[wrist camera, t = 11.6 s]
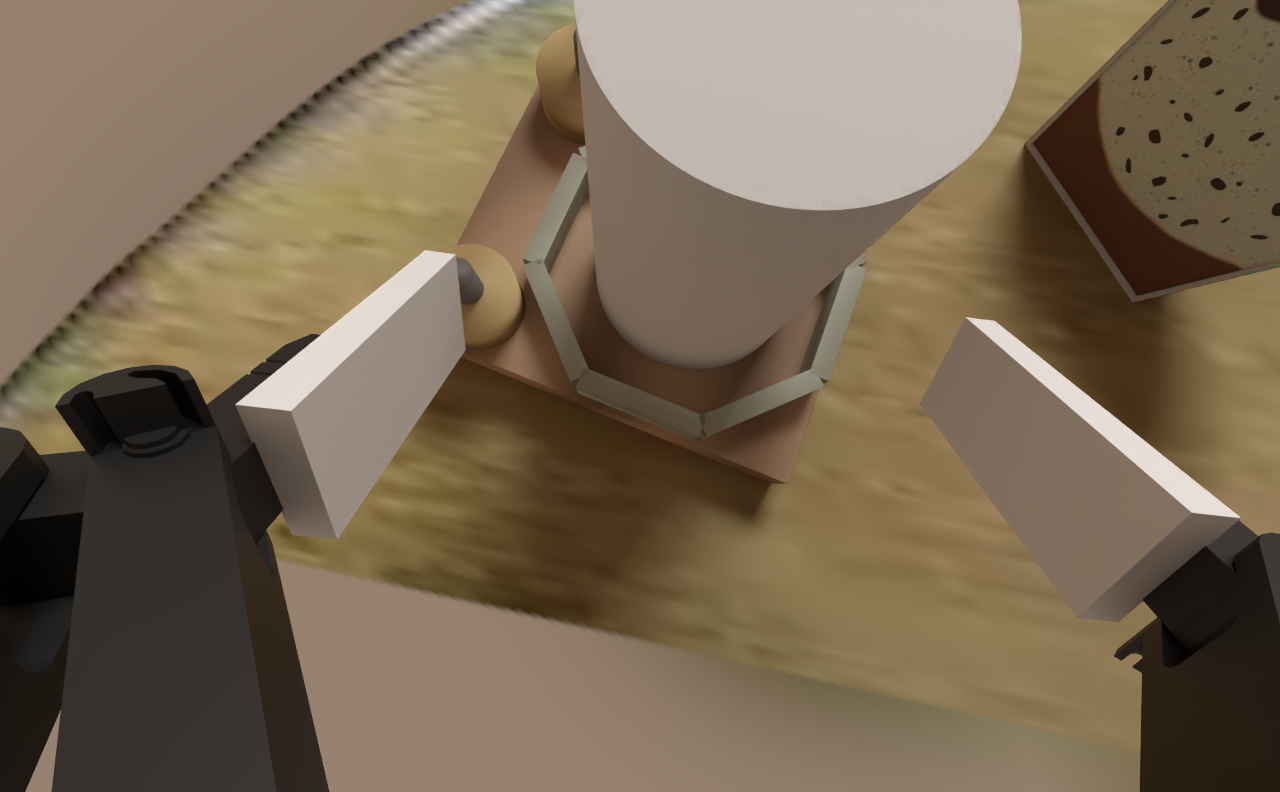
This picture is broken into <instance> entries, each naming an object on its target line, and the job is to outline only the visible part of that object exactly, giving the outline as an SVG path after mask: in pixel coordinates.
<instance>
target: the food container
mask: <svg viewBox="0 0 1280 792" xmlns="http://www.w3.org/2000/svg"><path fill="white" fill-rule="evenodd" d="M1025 146H1026V147H1027V148H1028V150H1029V151H1030V153H1031V154H1032V156H1033V157H1034V159H1035V160H1036V162H1037V163H1038V165H1039V166H1040V168H1041V169H1042V171H1043V172H1044V174H1045V175H1046V176H1047V178H1048V179H1049V181H1050V182H1051V184H1052V185H1053V187H1054V188H1055V190H1056V191H1057V193H1058V194H1059V196H1060V197H1061V199H1062V200H1063V201H1064V203H1065V204H1066V206H1067V207H1068V209H1069V210H1070V212H1071V213H1072V215H1073V216H1074V218H1075V219H1076V221H1077V222H1078V224H1079V225H1080V227H1081V228H1082V229H1083V231H1084V232H1085V234H1086V235H1087V237H1088V238H1089V240H1090V241H1091V243H1092V244H1093V246H1094V247H1095V249H1096V250H1097V252H1098V253H1099V254H1100V256H1101V257H1102V259H1103V260H1104V262H1105V263H1106V265H1107V266H1108V268H1109V269H1110V271H1111V272H1112V274H1113V275H1114V277H1115V278H1116V280H1117V281H1118V282H1119V284H1120V285H1121V287H1122V288H1123V290H1124V291H1125V293H1126V294H1127V296H1128V297H1129V299H1130V300H1131V302H1132V303H1133V302H1137V301H1141V300H1145V299H1149V298H1154V297H1158V296H1162V295H1166V294H1170V293H1174V292H1178V291H1182V290H1187V289H1191V288H1195V287H1199V286H1203V285H1207V284H1211V283H1215V282H1220V281H1224V280H1228V279H1232V278H1236V277H1240V276H1244V275H1248V274H1252V273H1257V272H1261V271H1265V270H1269V269H1273V268H1277V267H1280V0H1168V1H1167V2H1166V3H1165V4H1164V5H1163V6H1162V7H1161V8H1160V9H1159V10H1158V11H1157V12H1156V13H1155V14H1154V15H1153V16H1152V17H1151V18H1150V19H1149V20H1148V21H1147V22H1146V23H1145V24H1144V25H1143V26H1142V27H1141V28H1140V29H1139V30H1138V31H1137V32H1136V33H1135V34H1134V35H1133V36H1132V37H1131V38H1130V39H1129V40H1128V41H1127V42H1126V43H1125V44H1124V45H1123V46H1122V47H1121V48H1120V49H1119V50H1118V51H1117V52H1116V53H1115V54H1114V55H1113V56H1112V57H1111V58H1110V59H1109V60H1108V61H1107V62H1106V63H1105V64H1104V65H1103V66H1102V67H1101V68H1100V69H1099V70H1098V71H1097V72H1096V73H1095V74H1094V75H1093V76H1092V77H1091V78H1090V79H1089V80H1088V81H1087V82H1086V83H1085V84H1084V85H1083V86H1082V87H1081V88H1080V89H1079V90H1078V91H1077V92H1076V93H1075V94H1074V95H1073V96H1072V97H1071V98H1070V99H1069V100H1068V101H1067V102H1066V103H1065V104H1064V105H1063V106H1062V107H1061V108H1060V109H1059V110H1058V111H1057V112H1056V113H1055V114H1054V115H1053V116H1052V117H1051V118H1050V119H1049V120H1048V121H1047V122H1046V123H1045V124H1044V125H1043V126H1042V127H1041V128H1040V129H1039V130H1038V131H1037V132H1036V133H1035V134H1034V135H1033V136H1032V137H1031V138H1030V139H1029V140H1028V141H1027V142H1026V143H1025Z"/></svg>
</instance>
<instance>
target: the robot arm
mask: <svg viewBox="0 0 1280 792" xmlns="http://www.w3.org/2000/svg"><path fill="white" fill-rule="evenodd" d="M465 350H466V349H465V339H464V329H463V319H462V309H461V299H460V290H459V280H458V270H457V260H456V254H450V253H442V252H434V251H424V252H423V253H421V254H420V255H419V256H418V257H416V258H415V259H414V260H413V261H412V262H410V263H409V264H408V265H407V266H405V267H404V268H403V269H402V270H400V271H399V272H398V273H397V274H396V275H394V276H393V277H392V278H391V279H389V280H388V281H387V282H386V283H384V284H383V285H382V286H381V287H380V288H378V289H377V290H376V291H375V292H373V293H372V294H371V295H370V296H368V297H367V298H366V299H365V300H363V301H362V302H361V303H360V304H359V305H357V306H356V307H355V308H354V309H352V310H351V311H350V312H349V313H347V314H346V315H345V316H344V317H343V318H341V319H340V320H339V321H338V322H336V323H335V324H334V325H333V326H331V327H330V328H329V329H328V330H327V331H325V332H324V333H323V334H322V335H317V334H310V335H308V336H305V337H303V338H301V339H298V340H296V341H293V342H291V343H289V344H286V345H284V346H283V347H282V348H280V349H279V350H278V351H277V352H275V353H274V354H273V355H271V356H270V357H269V358H267V359H266V362H262V363H261V364H259V365H258V366H257V367H256V368H254V369H253V370H252V371H251V374H250V375H248V374H246V375H245V376H244V377H242V378H241V379H240V380H238V381H237V382H236V383H234V384H233V385H232V386H231V387H229V388H228V389H227V390H225V391H224V392H223V393H221V394H220V395H219V396H217V397H216V398H215V399H213V400H212V401H211V402H210V403H208V404H207V405H206V403H205V401H204V399H203V397H202V395H201V392H200V390H199V388H198V386H197V384H196V382H195V380H194V378H193V377H192V375H191V374H190V373H189V371H188V370H185V369H182V368H179V367H176V366H165V365H148V366H139V367H131V368H126V369H122V370H118V371H114V372H110V373H106V374H103V375H100V376H98V377H95V378H93V379H90V380H88V381H85V382H83V383H80V384H79V385H77V386H76V387H74V388H73V389H71V390H70V391H68V392H66V393H65V394H63V395H62V397H61V398H60V400H59V401H58V403H57V404H56V406H55V407H56V408H57V410H58V411H59V413H60V414H61V416H62V417H63V419H64V420H65V421H66V423H67V424H68V426H69V427H70V429H71V430H72V432H73V433H74V434H75V436H76V437H77V439H78V440H79V442H80V443H81V445H82V446H83V447H84V449H85V450H86V451H78V452H68V453H57V454H46V455H39V454H38V453H37V452H36V450H35V449H34V448H33V446H32V445H31V444H30V442H29V441H28V440H27V439H26V437H25V436H24V435H23V434H22V433H21V432H20V431H17V430H13V429H8V428H3V427H1V428H0V792H25V791H26V788H27V786H28V784H29V782H30V779H31V777H32V774H33V772H34V770H35V768H36V765H37V763H38V761H39V758H40V756H41V754H42V751H43V749H44V747H45V745H46V742H47V740H48V738H49V735H50V733H51V731H52V728H53V726H54V724H55V722H56V719H57V717H58V715H59V712H60V710H61V715H60V723H59V733H58V742H57V750H56V758H55V767H54V776H53V786H52V792H329V789H328V784H327V780H326V775H325V771H324V767H323V762H322V758H321V754H320V749H319V745H318V740H317V736H316V732H315V727H314V723H313V719H312V714H311V710H310V706H309V702H308V697H307V693H306V688H305V684H304V679H303V675H302V671H301V666H300V662H299V658H298V654H297V649H296V645H295V640H294V637H293V632H292V627H291V623H290V619H289V614H288V610H287V606H286V601H285V597H284V592H283V588H282V584H281V579H280V575H279V571H278V566H277V562H276V558H275V553H274V549H273V544H272V541H271V539H270V537H269V535H268V533H267V531H266V529H267V528H268V527H269V526H270V525H271V523H272V522H273V521H274V520H275V519H276V517H277V516H278V515H279V514H280V513H281V511H282V513H283V516H284V518H285V520H286V522H287V525H288V527H289V529H290V532H291V534H292V535H298V536H308V537H317V538H327V539H336V540H337V539H338V538H339V536H340V535H341V533H342V532H343V530H344V529H345V527H346V526H347V525H348V523H349V522H350V520H351V519H352V517H353V516H354V514H355V513H356V511H357V510H358V508H359V507H360V505H361V504H362V502H363V501H364V499H365V498H366V496H367V495H368V493H369V492H370V491H371V489H372V488H373V486H374V485H375V483H376V482H377V480H378V479H379V477H380V476H381V474H382V473H383V471H384V470H385V468H386V467H387V465H388V464H389V462H390V461H391V459H392V458H393V457H394V455H395V454H396V452H397V451H398V449H399V448H400V446H401V445H402V443H403V442H404V440H405V439H406V437H407V436H408V434H409V433H410V431H411V430H412V428H413V427H414V426H415V424H416V423H417V421H418V420H419V418H420V417H421V415H422V414H423V412H424V411H425V409H426V408H427V406H428V405H429V403H430V402H431V400H432V399H433V397H434V396H435V394H436V393H437V392H438V390H439V389H440V387H441V386H442V384H443V383H444V381H445V380H446V378H447V377H448V375H449V374H450V372H451V371H452V369H453V368H454V366H455V365H456V363H457V362H458V360H459V359H460V358H461V356H462V355H463V353H464V352H465ZM920 405H921V406H922V407H923V409H924V410H925V411H926V413H927V414H928V416H929V417H930V418H931V420H932V421H933V422H934V424H935V425H936V426H937V428H938V429H939V430H940V432H941V433H942V435H943V436H944V437H945V439H946V440H947V441H948V443H949V444H950V445H951V447H952V448H953V449H954V451H955V452H956V454H957V455H958V456H959V458H960V459H961V460H962V462H963V463H964V464H965V466H966V467H967V468H968V470H969V471H970V473H971V474H972V475H973V477H974V478H975V479H976V481H977V482H978V483H979V485H980V486H981V487H982V489H983V490H984V492H985V493H986V494H987V496H988V497H989V498H990V500H991V501H992V502H993V504H994V505H995V506H996V508H997V509H998V511H999V512H1000V513H1001V515H1002V516H1003V517H1004V519H1005V520H1006V521H1007V523H1008V524H1009V525H1010V527H1011V528H1012V530H1013V531H1014V532H1015V534H1016V535H1017V536H1018V538H1019V539H1020V540H1021V542H1022V543H1023V544H1024V546H1025V547H1026V549H1027V550H1028V551H1029V553H1030V554H1031V555H1032V557H1033V558H1034V559H1035V561H1036V562H1037V563H1038V565H1039V566H1040V568H1041V569H1042V570H1043V572H1044V573H1045V574H1046V576H1047V577H1048V578H1049V580H1050V581H1051V582H1052V584H1053V585H1054V587H1055V588H1056V589H1057V591H1058V592H1059V593H1060V595H1061V596H1062V597H1063V599H1064V600H1065V601H1066V603H1067V604H1068V606H1069V607H1070V608H1071V610H1072V611H1073V612H1074V614H1075V615H1076V616H1077V618H1087V619H1096V620H1106V621H1115V622H1119V621H1120V620H1121V619H1122V618H1124V617H1125V616H1126V615H1127V614H1128V613H1130V612H1131V611H1132V610H1133V609H1134V608H1135V607H1137V606H1138V605H1139V604H1140V603H1141V602H1143V601H1144V602H1145V603H1146V604H1147V605H1148V607H1149V608H1150V609H1151V610H1152V611H1153V612H1154V613H1155V614H1156V616H1157V618H1156V619H1155V620H1153V621H1152V622H1151V623H1150V624H1148V625H1147V626H1146V627H1145V628H1143V629H1142V630H1141V631H1140V632H1138V633H1137V634H1136V635H1135V636H1133V637H1132V638H1131V639H1130V640H1128V641H1127V642H1126V643H1125V644H1123V645H1122V646H1121V647H1120V648H1118V649H1117V651H1116V653H1115V655H1114V657H1116V658H1118V659H1120V660H1121V661H1122V660H1123V659H1124V658H1125V657H1127V656H1128V655H1129V654H1133V653H1137V654H1140V655H1142V659H1141V660H1140V661H1139V662H1137V663H1136V664H1135V665H1133V668H1135V669H1136V670H1138V671H1140V672H1141V673H1142V705H1141V758H1140V759H1141V760H1140V761H1141V762H1140V792H1280V534H1276V533H1267V534H1262V535H1260V536H1257V535H1256V534H1255V533H1254V532H1252V531H1251V530H1250V529H1249V528H1247V527H1246V526H1245V525H1244V524H1242V523H1241V522H1240V521H1239V520H1240V519H1241V518H1240V517H1239V516H1238V515H1237V514H1235V513H1234V512H1233V511H1232V510H1230V509H1229V508H1228V507H1227V506H1225V505H1224V504H1223V503H1222V502H1220V501H1219V500H1218V499H1217V498H1215V497H1214V496H1213V495H1212V494H1210V493H1209V492H1208V491H1207V490H1205V489H1204V488H1203V487H1202V486H1200V485H1199V484H1198V483H1197V482H1195V481H1194V480H1193V479H1192V478H1190V477H1189V476H1188V475H1187V474H1185V473H1184V472H1183V471H1182V470H1180V469H1179V468H1178V467H1177V466H1175V465H1174V464H1173V463H1172V462H1170V461H1169V460H1168V459H1167V458H1165V457H1164V456H1163V455H1162V454H1160V453H1159V452H1158V451H1157V450H1155V449H1154V448H1153V447H1152V446H1150V445H1149V444H1148V443H1147V442H1145V441H1144V440H1143V439H1142V438H1140V437H1139V436H1138V435H1137V434H1135V433H1134V432H1133V431H1132V430H1130V429H1129V428H1128V427H1127V426H1125V425H1124V424H1123V423H1122V422H1120V421H1119V420H1118V419H1117V418H1115V417H1114V416H1113V415H1112V414H1110V413H1109V412H1108V411H1107V410H1105V409H1104V408H1103V407H1102V406H1100V405H1099V404H1098V403H1097V402H1095V401H1094V400H1093V399H1092V398H1090V397H1089V396H1088V395H1087V394H1085V393H1084V392H1083V391H1082V390H1080V389H1079V388H1078V387H1077V386H1075V385H1074V384H1073V383H1072V382H1070V381H1069V380H1068V379H1067V378H1065V377H1064V376H1063V375H1062V374H1060V373H1059V372H1058V371H1057V370H1055V369H1054V368H1053V367H1052V366H1050V365H1049V364H1048V363H1047V362H1045V361H1044V360H1043V359H1042V358H1040V357H1039V356H1038V355H1037V354H1035V353H1034V352H1033V351H1032V350H1030V349H1029V348H1028V347H1027V346H1025V345H1024V344H1023V343H1022V342H1020V341H1019V340H1018V339H1017V338H1015V337H1014V336H1013V335H1012V334H1010V333H1009V332H1008V331H1007V330H1005V329H1004V328H1003V327H1002V326H1000V325H999V324H998V323H997V322H995V321H991V320H983V319H975V318H967V317H966V318H965V320H964V322H963V324H962V326H961V328H960V329H959V331H958V333H957V335H956V337H955V339H954V341H953V342H952V344H951V346H950V348H949V350H948V352H947V354H946V355H945V357H944V359H943V361H942V363H941V365H940V367H939V369H938V370H937V372H936V374H935V376H934V378H933V380H932V382H931V383H930V385H929V387H928V389H927V391H926V393H925V395H924V397H923V398H922V400H921V402H920Z"/></svg>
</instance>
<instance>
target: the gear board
mask: <svg viewBox="0 0 1280 792" xmlns="http://www.w3.org/2000/svg"><path fill="white" fill-rule="evenodd" d="M536 73H537V78H538V83H539V85H538V87H537V88H536V90H535V92H534V94H533V96H532V98H531V100H530V102H529V104H528V106H527V108H526V110H525V112H524V114H523V116H522V118H521V120H520V122H519V124H518V126H517V128H516V130H515V132H514V134H513V136H512V138H511V140H510V142H509V143H508V145H507V147H506V149H505V151H504V153H503V155H502V157H501V159H500V161H499V163H498V165H497V167H496V169H495V171H494V173H493V175H492V177H491V179H490V181H489V183H488V185H487V187H486V189H485V191H484V193H483V195H482V197H481V198H480V200H479V202H478V204H477V206H476V208H475V210H474V212H473V214H472V216H471V218H470V220H469V222H468V224H467V226H466V228H465V230H464V232H463V234H462V236H461V238H460V240H459V242H458V244H457V245H455V246H452V247H449V248H447V249H445V250H443V251H441V252H442V253H450V254H456V260H457V270H458V280H459V290H460V299H461V309H462V319H463V329H464V339H465V349H466V350H465V352H464V353H463V355H462V356H461V358H464V359H466V360H469V361H471V362H474V363H476V364H479V365H481V366H483V367H486V368H488V369H491V370H493V371H496V372H498V373H501V374H503V375H506V376H508V377H511V378H513V379H515V380H518V381H520V382H523V383H525V384H528V385H530V386H533V387H535V388H538V389H540V390H543V391H545V392H547V393H550V394H552V395H555V396H557V397H560V398H562V399H565V400H567V401H570V402H572V403H575V404H577V405H580V406H582V407H584V408H587V409H589V410H592V411H594V412H597V413H599V414H602V415H604V416H607V417H609V418H612V419H614V420H616V421H619V422H621V423H624V424H626V425H629V426H631V427H634V428H636V429H639V430H641V431H644V432H646V433H649V434H651V435H653V436H656V437H658V438H661V439H663V440H666V441H668V442H671V443H673V444H676V445H678V446H681V447H683V448H685V449H688V450H690V451H693V452H695V453H698V454H700V455H703V456H705V457H708V458H710V459H713V460H715V461H717V462H720V463H722V464H725V465H727V466H730V467H732V468H735V469H737V470H740V471H742V472H745V473H747V474H750V475H752V476H754V477H757V478H759V479H762V480H764V481H767V482H769V483H779V484H787V483H788V480H789V477H790V474H791V471H792V468H793V465H794V462H795V459H796V456H797V453H798V450H799V447H800V444H801V442H802V439H803V436H804V433H805V430H806V427H807V424H808V421H809V418H810V415H811V412H812V409H813V406H814V403H815V400H816V397H817V394H818V391H819V389H820V388H822V387H824V385H823V384H824V383H826V382H828V381H829V380H830V377H831V374H832V371H833V368H834V365H835V362H836V359H837V356H838V353H839V350H840V347H841V345H842V342H843V339H844V336H845V333H846V330H847V327H848V324H849V321H850V318H851V315H852V312H853V309H854V306H855V303H856V300H857V297H858V294H859V291H860V288H861V285H862V282H863V279H864V276H865V273H866V270H867V269H865V268H863V267H861V266H862V265H863V264H865V263H866V261H865V259H864V256H865V253H866V251H865V252H864V253H863V254H861V255H860V256H859V257H858V258H857V259H856V260H855V261H854V262H853V263H852V264H850V265H849V266H848V267H847V268H846V269H845V270H844V271H843V272H842V273H840V274H839V275H838V276H837V277H836V278H835V279H834V280H833V281H832V282H831V283H829V284H828V285H827V286H826V287H825V288H824V289H823V290H822V291H821V292H819V293H818V294H817V295H816V296H815V297H814V298H813V299H812V300H811V301H810V302H808V303H807V304H806V305H805V306H804V307H803V308H802V309H801V310H800V311H798V312H797V313H796V314H795V315H794V316H793V317H792V318H791V319H790V320H789V321H787V322H786V323H785V324H784V325H783V326H782V327H781V328H780V329H779V330H777V331H776V332H775V333H774V334H773V335H772V336H771V337H770V338H769V339H768V340H766V341H765V342H764V343H763V344H762V345H761V346H760V347H759V348H757V349H756V350H755V351H753V352H752V353H751V354H749V355H747V356H746V357H744V358H742V359H740V360H738V361H736V362H733V363H731V364H728V365H725V366H721V367H717V368H711V369H683V368H677V367H673V366H669V365H665V364H662V363H660V362H657V361H655V360H653V359H651V358H649V357H647V356H645V355H644V354H642V353H640V352H639V351H637V350H636V349H635V348H633V347H632V346H631V345H630V344H629V343H627V342H626V341H625V340H624V339H623V338H622V337H621V335H620V334H619V333H618V332H617V331H616V329H615V328H614V327H613V325H612V324H611V322H610V320H609V319H608V317H607V315H606V313H605V311H604V309H603V306H602V304H601V300H600V297H599V293H598V288H597V279H596V267H595V255H594V243H593V231H592V219H591V206H590V194H589V182H588V170H587V158H586V145H585V133H584V121H583V109H582V97H581V85H580V72H579V60H578V48H577V36H576V24H575V23H572V24H569V25H566V26H564V27H562V28H560V29H558V30H557V31H555V32H554V33H553V34H552V35H550V36H549V37H548V38H547V40H546V41H545V42H544V43H543V45H542V47H541V49H540V51H539V53H538V57H537V62H536Z"/></svg>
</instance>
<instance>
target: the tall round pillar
mask: <svg viewBox="0 0 1280 792" xmlns="http://www.w3.org/2000/svg"><path fill="white" fill-rule="evenodd" d="M574 11H575V24H576V36H577V48H578V60H579V72H580V85H581V97H582V109H583V121H584V133H585V145H586V158H587V170H588V182H589V194H590V206H591V219H592V231H593V243H594V255H595V267H596V279H597V288H598V293H599V297H600V300H601V304H602V306H603V309H604V311H605V313H606V315H607V317H608V319H609V320H610V322H611V324H612V325H613V327H614V328H615V329H616V331H617V332H618V333H619V334H620V335H621V337H622V338H623V339H624V340H625V341H626V342H627V343H629V344H630V345H631V346H632V347H633V348H635V349H636V350H637V351H639V352H640V353H642V354H644V355H645V356H647V357H649V358H651V359H653V360H655V361H657V362H660V363H662V364H665V365H669V366H673V367H677V368H683V369H711V368H717V367H721V366H725V365H728V364H731V363H733V362H736V361H738V360H740V359H742V358H744V357H746V356H747V355H749V354H751V353H752V352H753V351H755V350H756V349H757V348H759V347H760V346H761V345H762V344H763V343H764V342H765V341H766V340H768V339H769V338H770V337H771V336H772V335H773V334H774V333H775V332H776V331H777V330H779V329H780V328H781V327H782V326H783V325H784V324H785V323H786V322H787V321H789V320H790V319H791V318H792V317H793V316H794V315H795V314H796V313H797V312H798V311H800V310H801V309H802V308H803V307H804V306H805V305H806V304H807V303H808V302H810V301H811V300H812V299H813V298H814V297H815V296H816V295H817V294H818V293H819V292H821V291H822V290H823V289H824V288H825V287H826V286H827V285H828V284H829V283H831V282H832V281H833V280H834V279H835V278H836V277H837V276H838V275H839V274H840V273H842V272H843V271H844V270H845V269H846V268H847V267H848V266H849V265H850V264H852V263H853V262H854V261H855V260H856V259H857V258H858V257H859V256H860V255H861V254H863V253H864V252H865V251H866V250H867V249H868V248H869V247H870V246H871V245H873V244H874V243H875V242H876V241H877V240H878V239H879V238H880V237H881V236H882V235H884V234H885V233H886V232H887V231H888V230H889V229H890V228H891V227H892V226H894V225H895V224H896V223H897V222H898V221H899V220H900V219H901V218H902V217H903V216H905V215H906V214H907V213H908V212H909V211H910V210H911V209H912V208H913V207H914V206H916V205H917V204H918V203H919V202H920V201H921V200H922V199H923V198H924V197H926V196H927V195H928V194H929V193H930V192H931V191H932V190H933V189H934V188H935V187H937V186H938V185H939V184H940V183H941V182H942V181H943V180H944V179H945V178H947V177H948V176H949V175H950V174H951V173H952V172H953V171H954V170H955V169H956V168H958V167H959V166H960V165H961V164H962V163H963V162H964V161H965V160H966V159H968V158H969V157H970V156H971V155H972V154H973V153H974V152H975V151H976V150H977V149H978V148H979V147H980V145H981V144H982V143H983V142H984V140H985V139H986V138H987V137H988V136H989V134H990V133H991V131H992V130H993V128H994V127H995V126H996V124H997V123H998V121H999V119H1000V117H1001V115H1002V114H1003V112H1004V110H1005V108H1006V106H1007V104H1008V101H1009V99H1010V97H1011V94H1012V91H1013V88H1014V85H1015V82H1016V78H1017V73H1018V69H1019V64H1020V56H1021V40H1022V33H1021V18H1020V11H1019V5H1018V0H574Z"/></svg>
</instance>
